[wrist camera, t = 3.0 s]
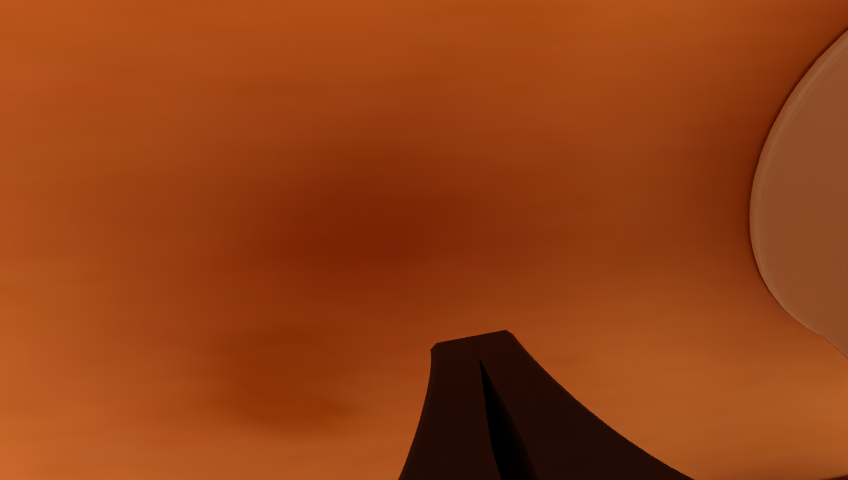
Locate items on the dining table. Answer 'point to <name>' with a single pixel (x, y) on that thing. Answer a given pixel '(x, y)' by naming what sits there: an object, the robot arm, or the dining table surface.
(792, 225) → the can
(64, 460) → the dining table surface
